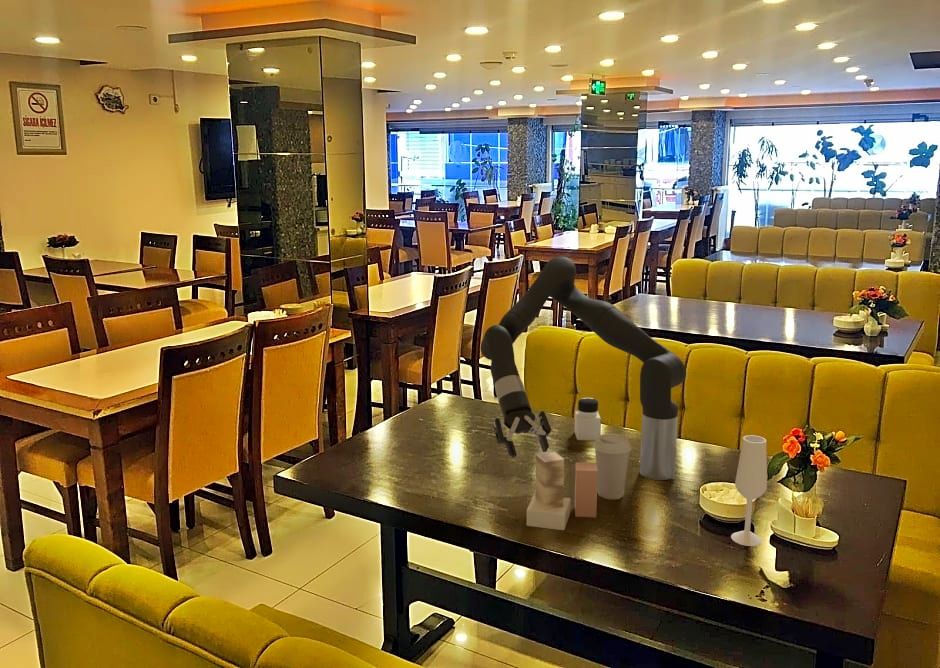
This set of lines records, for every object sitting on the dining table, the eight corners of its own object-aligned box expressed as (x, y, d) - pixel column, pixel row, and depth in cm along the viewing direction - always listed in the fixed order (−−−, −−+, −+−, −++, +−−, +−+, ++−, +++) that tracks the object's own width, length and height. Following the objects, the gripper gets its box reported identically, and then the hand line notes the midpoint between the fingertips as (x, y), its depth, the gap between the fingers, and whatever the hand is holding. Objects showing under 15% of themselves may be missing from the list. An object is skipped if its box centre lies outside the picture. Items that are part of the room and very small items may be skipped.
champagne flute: (745, 548, 169) (754, 446, 164) (724, 535, 175) (731, 436, 170) (768, 542, 172) (777, 441, 167) (747, 529, 178) (755, 431, 173)
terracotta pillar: (594, 508, 189) (596, 462, 187) (596, 517, 185) (597, 471, 182) (574, 507, 190) (575, 462, 187) (575, 516, 185) (576, 470, 182)
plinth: (570, 513, 187) (570, 498, 186) (564, 530, 178) (564, 514, 177) (533, 509, 189) (533, 494, 188) (526, 525, 181) (526, 510, 180)
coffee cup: (584, 490, 200) (586, 435, 196) (615, 483, 203) (617, 430, 200) (605, 504, 191) (607, 448, 188) (637, 498, 195) (639, 442, 191)
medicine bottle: (600, 440, 234) (601, 403, 231) (577, 440, 234) (578, 403, 231) (597, 432, 241) (598, 395, 238) (574, 432, 241) (575, 395, 238)
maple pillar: (554, 498, 186) (554, 451, 183) (563, 506, 181) (564, 459, 179) (535, 501, 184) (535, 454, 182) (544, 510, 180) (544, 462, 177)
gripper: (533, 399, 205) (551, 455, 197) (483, 406, 201) (499, 464, 193) (541, 386, 199) (560, 443, 191) (489, 393, 194) (507, 452, 187)
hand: (530, 453), depth 192 cm, fingers open, 8 cm apart
